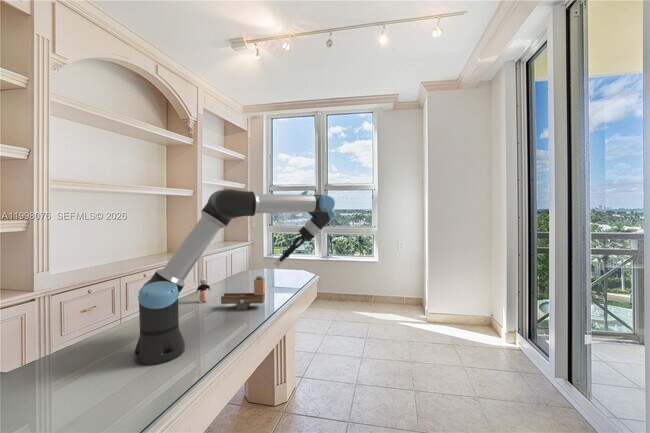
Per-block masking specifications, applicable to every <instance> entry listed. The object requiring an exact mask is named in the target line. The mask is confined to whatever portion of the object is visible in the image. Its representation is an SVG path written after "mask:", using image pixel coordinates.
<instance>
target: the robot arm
mask: <svg viewBox="0 0 650 433" xmlns="http://www.w3.org/2000/svg"><path fill="white" fill-rule="evenodd" d="M335 204H336V201H335V198H334V197H333V196H332V195H330V194H327V193H325V194H324V193H323V194H312V193H311V192H310V191H308V190H304V191H302V192H301V193H299V194H296V193H295V194H293V193H291V194H289V193H288V194H287V193H286V194H284V193H283V194H280V193H279V194H278V193H271V194H269V193H268V194H267V193H266V194H265V193H263V194H262V193H256V192H254V191H249V190H247V191H246V190H238V189H233V188H232V189H230V188H229V189H228V188H226V189H219V190H217V191H215V192H213V193H212V194H211V195H210V196H209V198H208V199H207V202H206V204H205V205H204V207H203V208H202V209H201V211H200V213H201V217H200V219H199V220H198V221H197V223H196V224H195V225H194V227H193V228H192V230H191V231H190V232H189V233H188V234H187V236H186V237H185V239H184V240H183V242H181V244H180V246H179V247H178V248H177V250H176V251H175V252H174V254H173V255H172V256H171V258H170V259H169V260H168V262H167V263H166V264H165V266H164V267H163V268H161V269H156V271H155V272H154V274H153V275H152V276H151V278H150V279H148V280H146V282H145V283H144V284H143V286H142V287H140V289H139V291H138V296H137V300H138V308H139V309H138V312H139V314H138V316H139V318H138V319H139V321H138V322H139V336H138V340H137V343H136V346H135V349H134V351H133V360H134V362H135V363H136V364H138V365H142V366H143V365H144V366H145V365H146V366H153V365H159V364H163V363H164V364H165V363H167V362H169V361H172V360H174V359H177V358H179V357H180V356H181V355H182V354H184V352H185V350H186V343H185V340H184V337H183V334H182V333H181V329H180V320H179V319H180V318H179V317H180V316H179V314H180V313H179V295H180V293H181V291H182V290H183V289H184V287H185V279H186V277H187V276H188V275H189V273H191V270H192V269H193V268H194V266H195V265H196V263H198V261H199V260H200V258H201V257H202V255H203V254H204V253H205V251H206V249H207V248H208V246H210V244H211V243H212V242H213V240H214V238H215V237H216V236H217V234H218V233H219V232H220V230H221V229H225V228H227V227H228V225H229V224H230V222H231V220H232V219H238V218H243V217H254V216H256V214H275V213H276V214H277V213H278V214H280V213H281V214H282V213H283V214H284V213H308V215H310V217H311V218H310V219H309V220H307V222H306V223H305V224H304V226H302V227H300V229H299V230H298V233H299V234H300V236H297V237H296V239H295V240H294V241H293V242H292V243H291V245H290V246H289V247H288V248H287V249H286V250H285V251H284V252H282V253H281V255H280V256H279V257H278V258H277V259H276V260H275V261H274V262H273V265H275V266H276V267H277V268H278V267H279V266H280V265H281V264H282V263H283V262H285V261H286V259H288V258H289V257H290V255H291V254H292V253H293V252H294V251H295V250H297V249H298V248H300V246H302V245H303V244H304V243H305V240H306V241H307V242H311V241H312V239H314V237H315V236H317V234H320V233H321V231H322V230H323V229H324V227H325V226H327V224H328V223H329V222H330V221H332V220H333V218H334V217H335V216H336V212H335V211H334V209H335Z"/></svg>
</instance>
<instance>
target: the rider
mask: <svg viewBox="0 0 650 433" xmlns="http://www.w3.org/2000/svg"><path fill="white" fill-rule="evenodd" d="M265 283H266V279H265V278H263V276H262V275H259V276H258V275H257V276H256V277H255V279H254V280H253V293H254V295H264V293H265V294H266V284H265Z"/></svg>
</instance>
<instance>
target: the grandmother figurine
mask: <svg viewBox="0 0 650 433" xmlns="http://www.w3.org/2000/svg"><path fill="white" fill-rule="evenodd" d="M199 282H200V285H199V286H198V287H197V288H196V291H195V294H198V293H199V296H198V298H199V299H198V304H203V303H208V300H207V299H208V291H211V290H212V289H211V286H210V285H208V284H207V279H206V278H204V277H202V278H200V280H199ZM207 289H208V290H207Z"/></svg>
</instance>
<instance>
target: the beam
mask: <svg viewBox="0 0 650 433" xmlns="http://www.w3.org/2000/svg"><path fill="white" fill-rule="evenodd" d="M265 295H266V292H265V293H264V295H254V292H225V293H223V295H221V296H220V304H221V305H231V304H232V305H233V304H236V311H248V310H249V308H250V306H251V304H263V303H264V302H265V300H266V296H265Z"/></svg>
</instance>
